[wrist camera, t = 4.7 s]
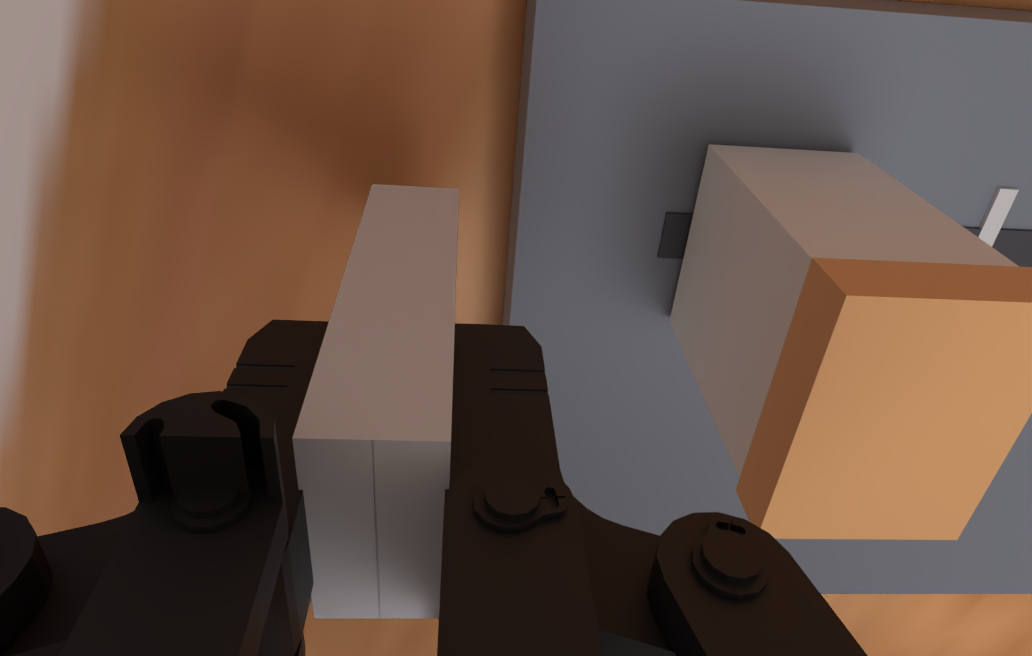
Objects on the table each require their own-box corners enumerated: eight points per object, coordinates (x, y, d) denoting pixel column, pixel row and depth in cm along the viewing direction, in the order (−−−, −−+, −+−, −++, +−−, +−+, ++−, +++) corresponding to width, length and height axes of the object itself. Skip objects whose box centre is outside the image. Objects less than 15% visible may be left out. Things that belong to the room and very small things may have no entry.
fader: (663, 326, 16) (757, 539, 11) (705, 138, 14) (846, 296, 8) (802, 330, 16) (957, 540, 11) (865, 148, 14) (1095, 304, 9)
